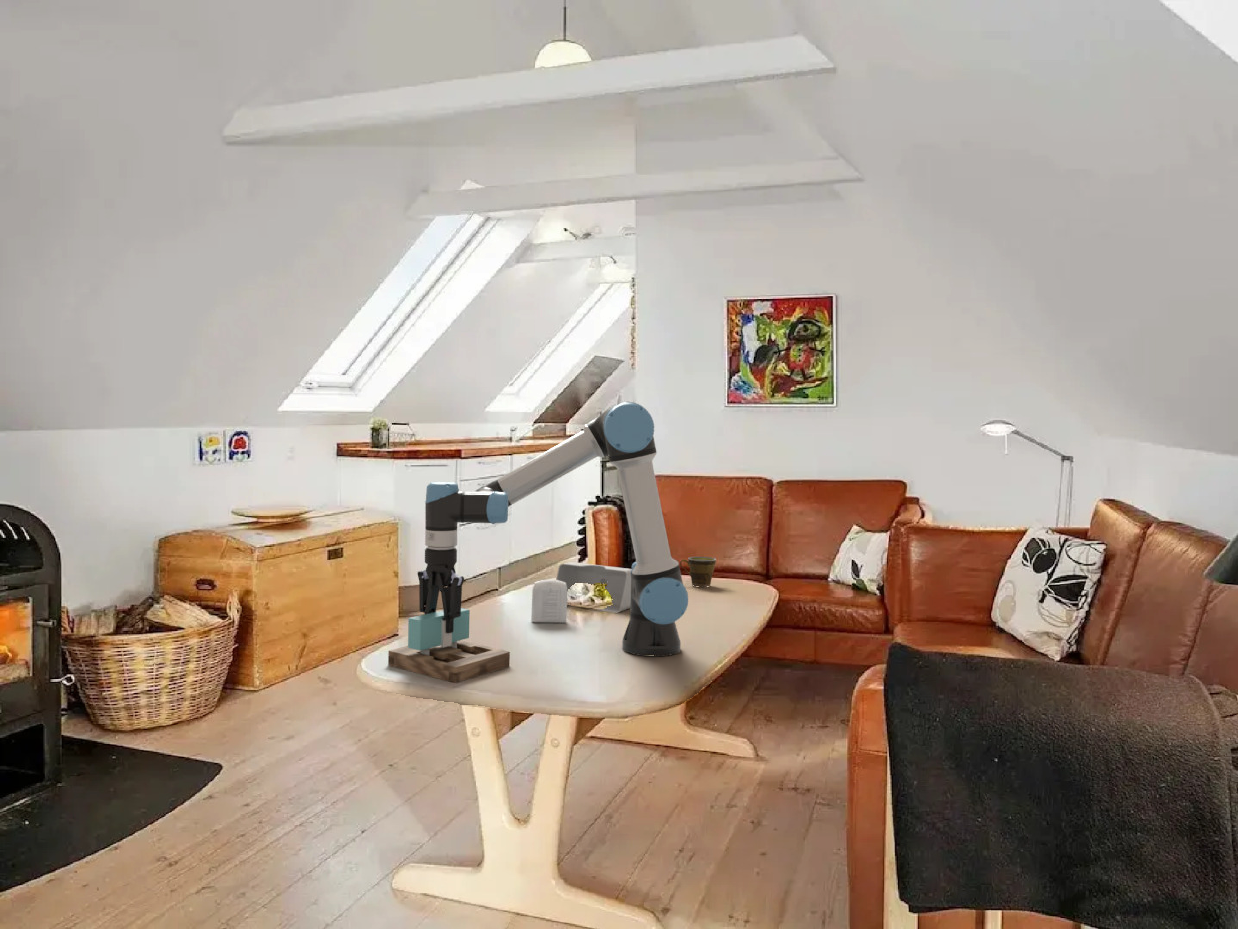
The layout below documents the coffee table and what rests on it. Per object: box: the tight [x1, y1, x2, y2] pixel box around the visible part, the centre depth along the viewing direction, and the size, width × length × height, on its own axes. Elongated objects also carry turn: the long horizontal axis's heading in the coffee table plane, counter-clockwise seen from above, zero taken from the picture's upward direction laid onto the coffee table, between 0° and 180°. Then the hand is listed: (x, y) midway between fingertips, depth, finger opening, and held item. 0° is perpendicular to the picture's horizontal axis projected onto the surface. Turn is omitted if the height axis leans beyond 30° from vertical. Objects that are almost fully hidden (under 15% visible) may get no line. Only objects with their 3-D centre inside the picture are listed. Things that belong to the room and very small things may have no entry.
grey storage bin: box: [555, 561, 632, 614], centre depth 292 cm, size 25×16×12 cm, turn 62°
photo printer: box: [530, 579, 568, 624], centre depth 265 cm, size 10×4×12 cm, turn 98°
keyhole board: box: [387, 640, 511, 684], centre depth 215 cm, size 22×18×4 cm
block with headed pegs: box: [407, 607, 471, 656], centre depth 217 cm, size 4×16×12 cm, turn 145°
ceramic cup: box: [679, 556, 717, 588], centre depth 329 cm, size 13×10×10 cm
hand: (439, 644), depth 217 cm, fingers closed on block with headed pegs, 4 cm apart
